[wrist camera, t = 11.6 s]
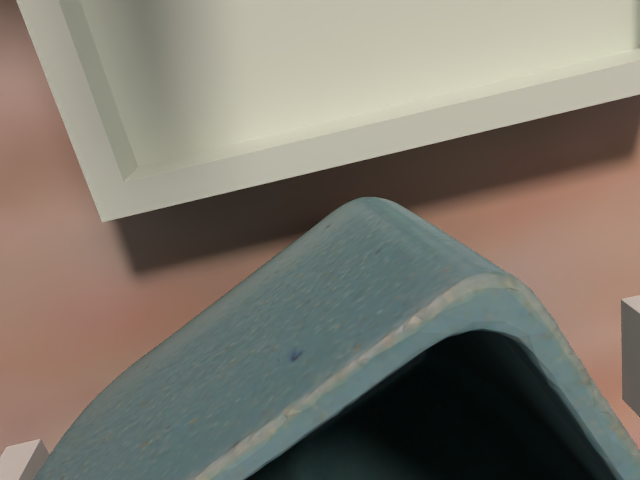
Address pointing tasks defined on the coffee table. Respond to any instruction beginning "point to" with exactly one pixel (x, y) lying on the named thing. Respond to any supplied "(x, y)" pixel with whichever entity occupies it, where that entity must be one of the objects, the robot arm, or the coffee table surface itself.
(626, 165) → the coffee table surface
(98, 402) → the flower pot
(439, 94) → the tray
